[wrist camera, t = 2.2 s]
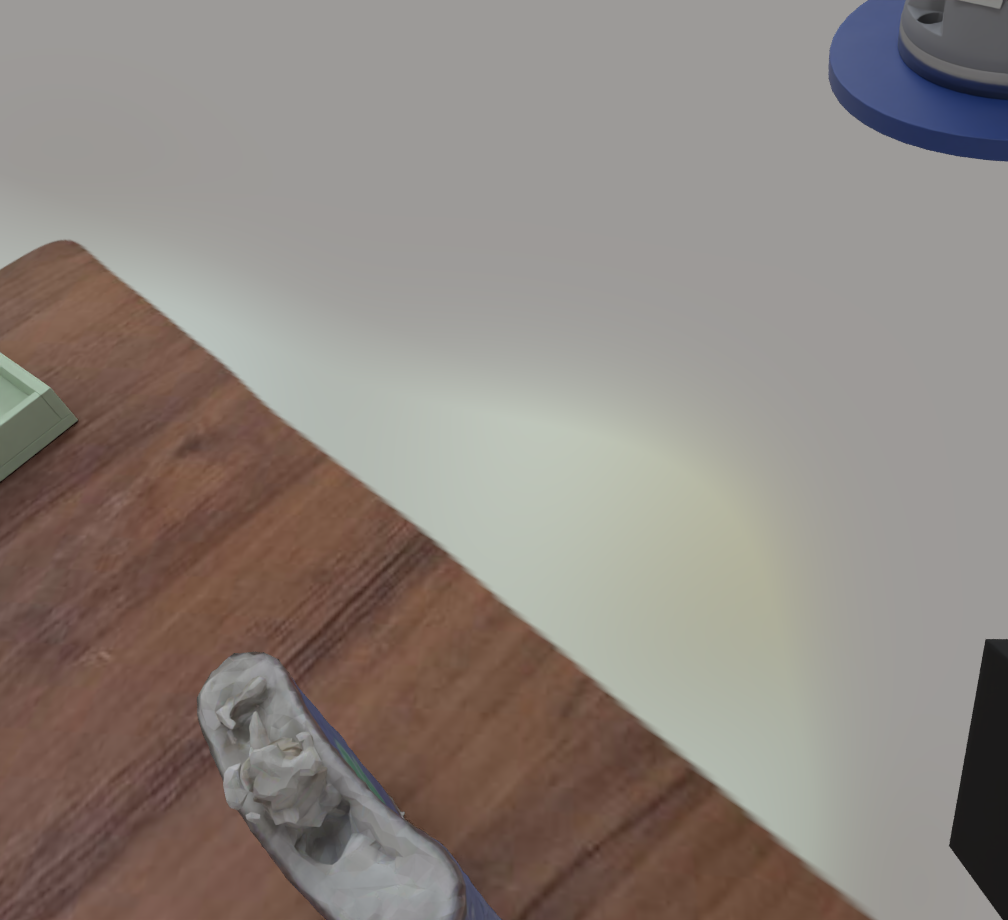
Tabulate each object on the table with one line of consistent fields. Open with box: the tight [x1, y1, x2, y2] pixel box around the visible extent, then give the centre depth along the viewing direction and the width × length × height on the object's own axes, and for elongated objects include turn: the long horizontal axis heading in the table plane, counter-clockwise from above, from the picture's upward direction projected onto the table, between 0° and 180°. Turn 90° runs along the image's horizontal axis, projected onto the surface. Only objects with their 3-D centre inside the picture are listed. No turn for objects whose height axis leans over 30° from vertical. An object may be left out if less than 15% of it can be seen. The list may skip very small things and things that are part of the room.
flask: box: [197, 652, 502, 920], centre depth 21 cm, size 9×3×11 cm, turn 43°
